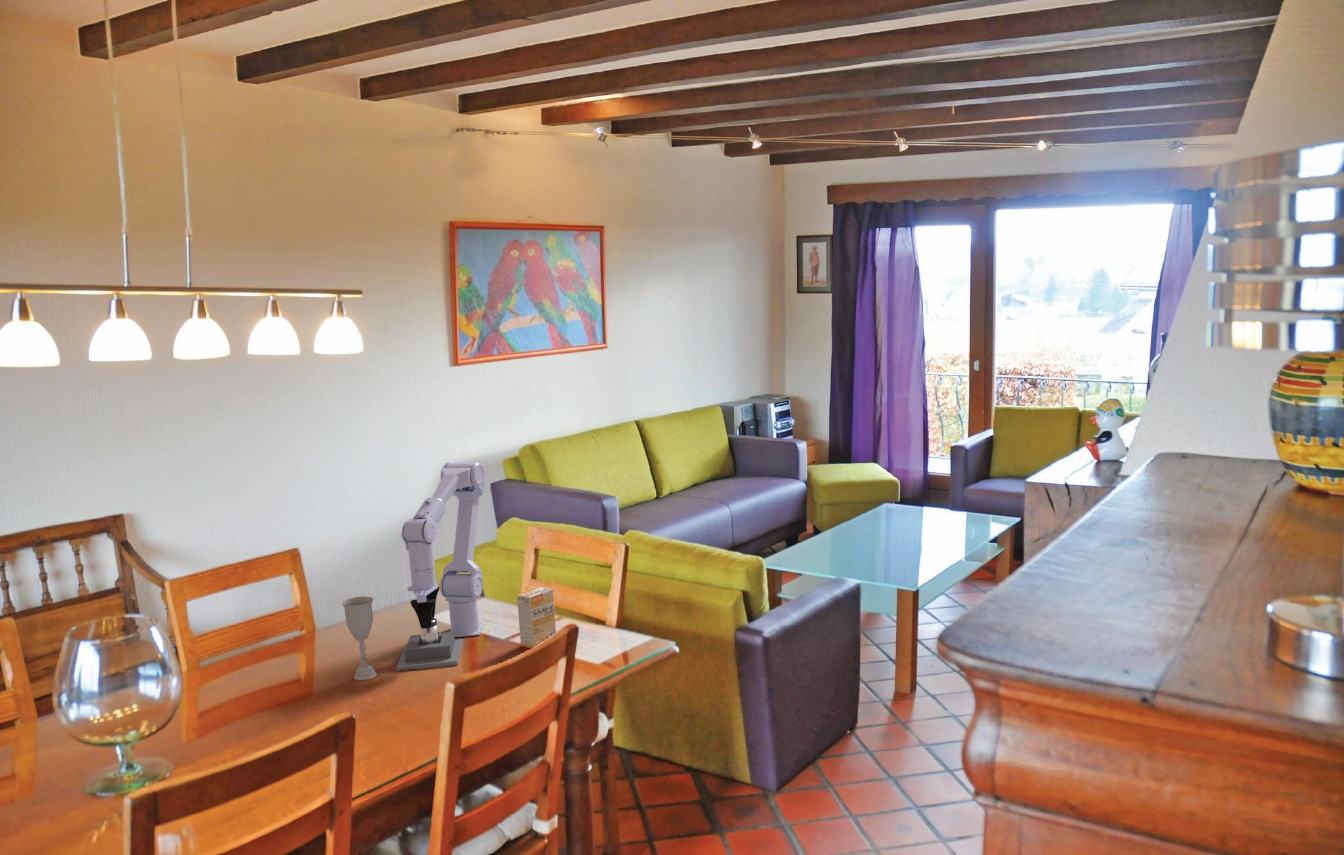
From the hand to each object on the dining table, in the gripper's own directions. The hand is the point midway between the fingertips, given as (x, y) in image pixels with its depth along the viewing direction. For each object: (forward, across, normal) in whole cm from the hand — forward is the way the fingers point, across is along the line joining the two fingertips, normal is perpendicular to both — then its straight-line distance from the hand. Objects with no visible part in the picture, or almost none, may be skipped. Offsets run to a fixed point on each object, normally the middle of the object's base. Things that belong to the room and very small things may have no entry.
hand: (428, 622), depth 244 cm
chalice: (+9, +9, -14) cm, 19 cm away
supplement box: (+9, -2, +26) cm, 27 cm away
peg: (+7, 0, 0) cm, 7 cm away
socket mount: (+8, 0, 0) cm, 8 cm away
